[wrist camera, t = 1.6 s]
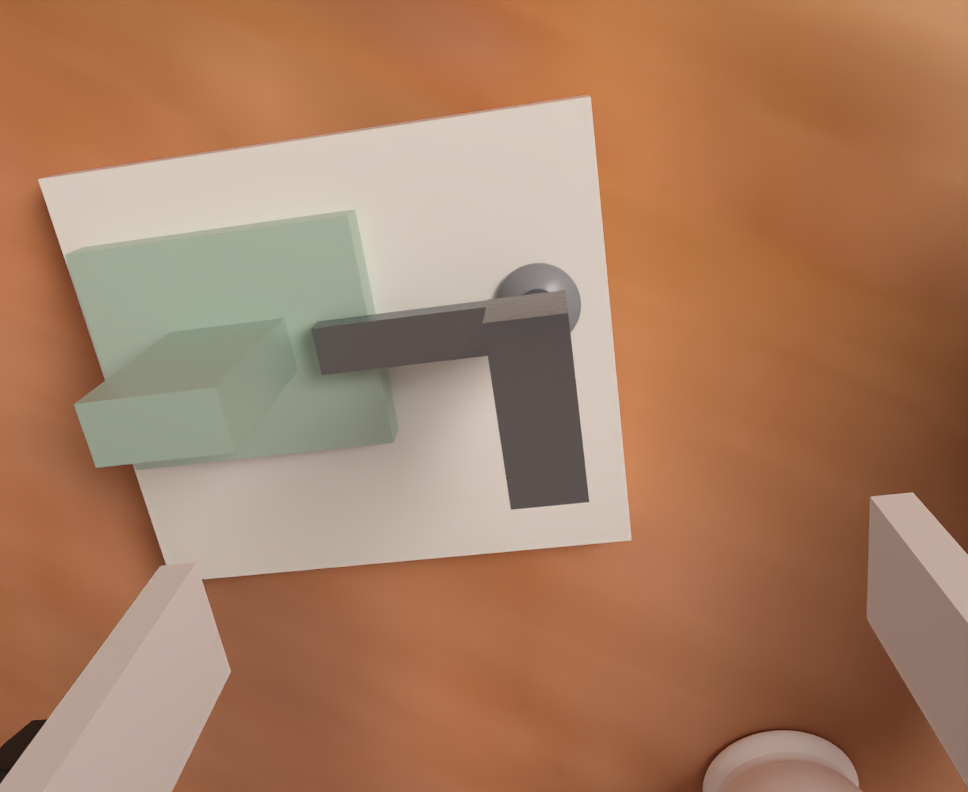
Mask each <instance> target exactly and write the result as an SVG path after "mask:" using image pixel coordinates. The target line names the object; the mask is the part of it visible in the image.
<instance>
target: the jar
mask: <svg viewBox="0 0 968 792" xmlns="http://www.w3.org/2000/svg"><path fill="white" fill-rule="evenodd" d="M703 792H863V791H862V790H861V789H860V788H859V781H858V776H857V773H856V770H855V768H854V766H853V764H852V762H851V761H850V759H849V758H848V757H847V756H846V754H845V753H844V752H843V751H842V750H840V749H839V748H838V747H837V746H835V745H834V744H832V743H831V742H829V741H827V740H825V739H823V738H821V737H818V736H816V735H813V734H809V733H805V732H800V731H791V730H775V731H767V732H761V733H757V734H753V735H750V736H747V737H745V738H742V739H740V740H738V741H736V742H734V743H733V744H731V745H729V746H728V747H727V748H725V749H724V750H723V751H722V752H720V753H719V754H718V755H717V756H716V758H715V759H714V760H713V761H712V763H711V764H710V766H709V768H708V770H707V772H706V774H705V777H704V781H703Z"/></svg>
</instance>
